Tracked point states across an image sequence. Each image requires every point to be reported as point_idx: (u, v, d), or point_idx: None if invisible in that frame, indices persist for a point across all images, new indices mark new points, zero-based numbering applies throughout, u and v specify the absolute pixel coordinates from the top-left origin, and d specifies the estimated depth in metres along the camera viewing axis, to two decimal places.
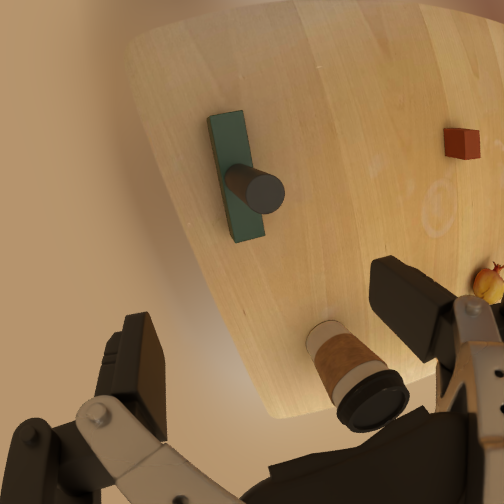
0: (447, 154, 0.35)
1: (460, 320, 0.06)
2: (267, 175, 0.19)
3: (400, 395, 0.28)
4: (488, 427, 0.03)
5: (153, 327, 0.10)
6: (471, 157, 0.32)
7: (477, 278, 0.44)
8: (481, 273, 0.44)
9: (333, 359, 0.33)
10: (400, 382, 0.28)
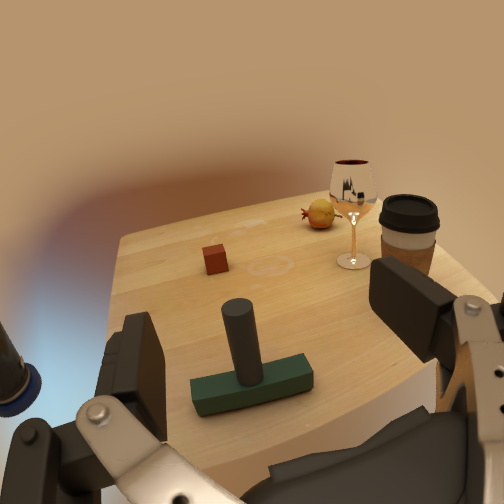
0: (226, 269, 0.57)
1: (460, 320, 0.06)
2: (222, 307, 0.25)
3: (394, 202, 0.38)
4: (488, 427, 0.03)
5: (153, 327, 0.10)
6: (222, 248, 0.57)
7: (318, 225, 0.68)
8: (313, 223, 0.69)
9: None
10: None
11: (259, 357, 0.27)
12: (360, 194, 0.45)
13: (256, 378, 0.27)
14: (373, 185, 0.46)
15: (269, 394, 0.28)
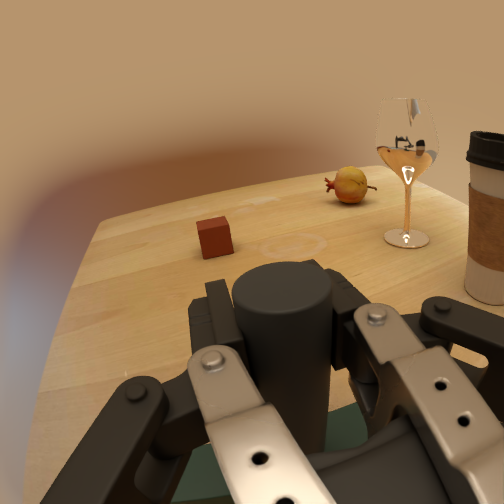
0: (231, 250, 0.40)
1: (368, 336, 0.07)
2: (234, 288, 0.08)
3: None
4: (455, 447, 0.03)
5: None
6: (225, 221, 0.40)
7: (348, 197, 0.51)
8: (342, 195, 0.52)
9: (503, 235, 0.19)
10: (470, 142, 0.20)
11: (327, 416, 0.10)
12: (422, 138, 0.28)
13: None
14: (435, 129, 0.29)
15: None
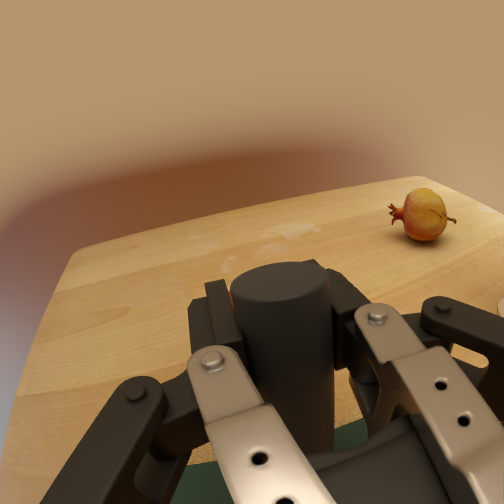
0: None
1: (369, 336, 0.07)
2: (233, 284, 0.08)
3: None
4: (454, 447, 0.03)
5: None
6: None
7: (426, 235, 0.33)
8: (417, 232, 0.33)
9: None
10: None
11: (333, 425, 0.09)
12: None
13: None
14: None
15: None
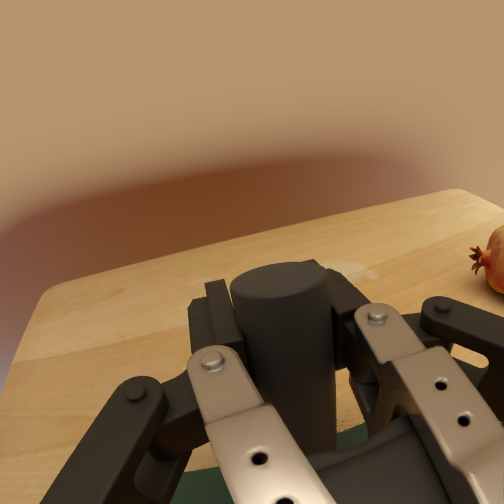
0: None
1: (369, 336, 0.07)
2: (232, 283, 0.08)
3: None
4: (455, 447, 0.03)
5: None
6: None
7: None
8: None
9: None
10: None
11: (335, 427, 0.09)
12: None
13: None
14: None
15: None
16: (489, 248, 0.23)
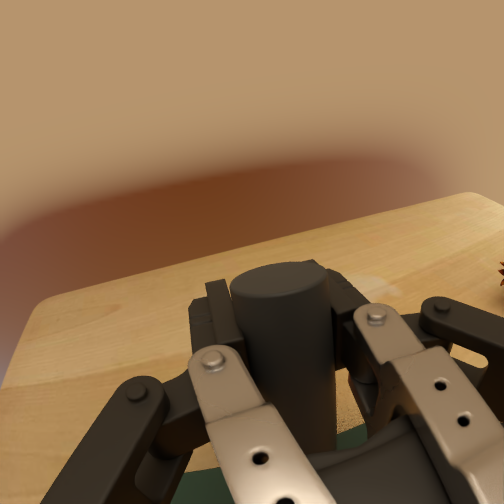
0: None
1: (368, 336, 0.07)
2: (232, 283, 0.08)
3: None
4: (454, 447, 0.03)
5: None
6: None
7: None
8: None
9: None
10: None
11: (335, 427, 0.09)
12: None
13: None
14: None
15: None
16: None
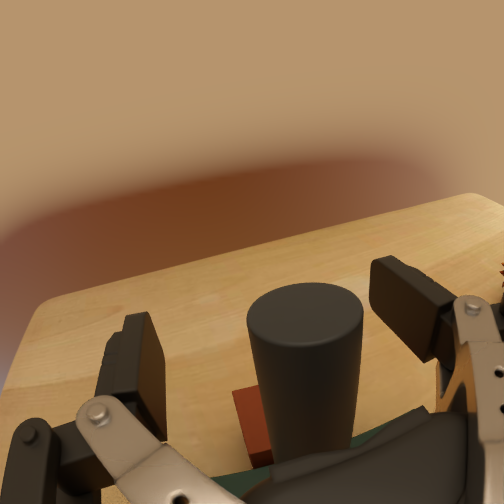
0: None
1: (460, 320, 0.06)
2: (249, 315, 0.07)
3: None
4: (488, 427, 0.03)
5: (153, 327, 0.10)
6: None
7: None
8: None
9: None
10: None
11: None
12: None
13: None
14: None
15: None
16: None
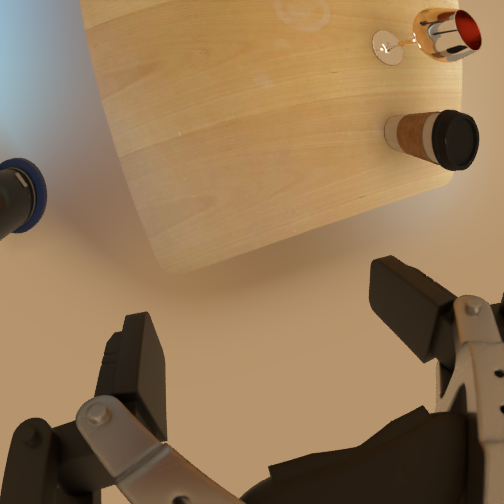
0: None
1: (460, 320, 0.06)
2: None
3: (458, 119, 0.30)
4: (488, 427, 0.03)
5: (153, 327, 0.10)
6: None
7: None
8: None
9: (412, 150, 0.38)
10: (447, 120, 0.30)
11: None
12: (445, 58, 0.27)
13: None
14: None
15: None
16: None
